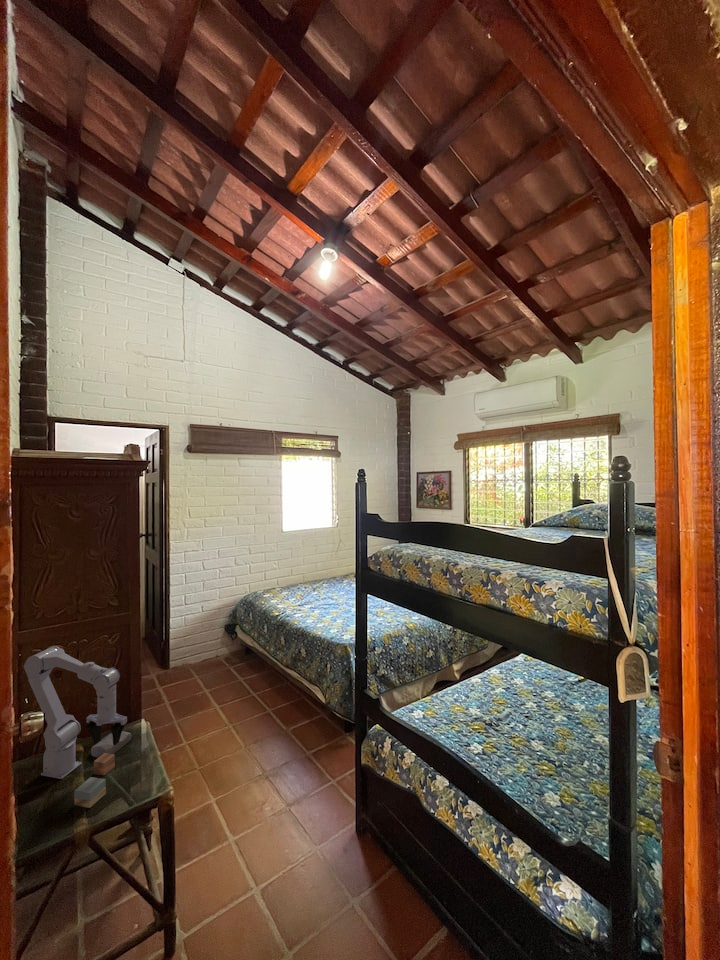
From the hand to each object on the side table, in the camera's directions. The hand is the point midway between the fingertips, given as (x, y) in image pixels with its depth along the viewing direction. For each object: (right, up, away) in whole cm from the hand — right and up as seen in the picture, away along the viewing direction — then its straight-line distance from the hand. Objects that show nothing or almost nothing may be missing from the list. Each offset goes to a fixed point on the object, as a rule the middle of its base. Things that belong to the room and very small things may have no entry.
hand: (106, 742), depth 140 cm
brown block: (+3, -10, -13) cm, 17 cm away
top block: (+3, -8, -13) cm, 15 cm away
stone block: (-7, -11, +13) cm, 19 cm away
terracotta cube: (-1, -10, 0) cm, 10 cm away
